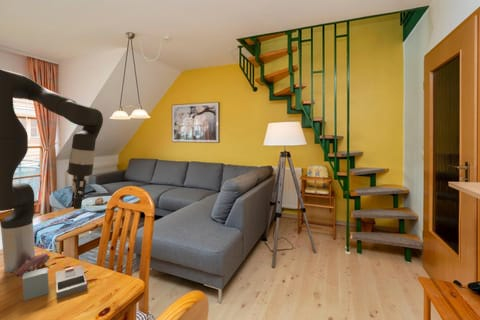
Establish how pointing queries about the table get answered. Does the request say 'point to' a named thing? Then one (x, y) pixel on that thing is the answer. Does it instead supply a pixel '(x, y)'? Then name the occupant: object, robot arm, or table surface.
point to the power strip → (70, 281)
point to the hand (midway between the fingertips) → (76, 205)
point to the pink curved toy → (33, 264)
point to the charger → (35, 283)
